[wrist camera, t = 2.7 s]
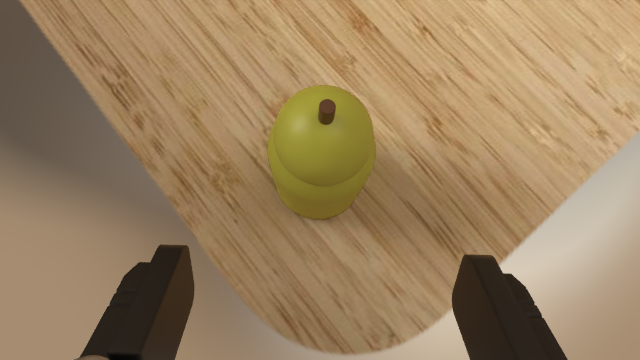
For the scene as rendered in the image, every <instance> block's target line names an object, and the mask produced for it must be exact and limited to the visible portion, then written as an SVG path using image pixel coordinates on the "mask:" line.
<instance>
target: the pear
mask: <svg viewBox="0 0 640 360" xmlns="http://www.w3.org/2000/svg"><path fill="white" fill-rule="evenodd" d="M375 155H376V145H375V138H374V132H373V125H372V121H371V118H370V115H369V113H368V111H367V110H366V108H365V107H364V105H363V104H362V103H361V101H360V100H359V99H358V98H356V97H355V96H354V95H353V94H351V93H350V92H348V91H346V90H344V89H341V88H339V87H335V86H329V85H319V86H312V87H308V88H306V89H303V90H301V91H299V92H297V93H296V94H295V95H293V96H292V97H291V98H290V99H289V100H288V101H287V102H286V103H285V104H284V105H283V107H282V108H281V110H280V111H279V114H278V116H277V118H276V121H275V123H274V125H273V127H272V129H271V132H270V135H269V139H268V160H269V164H270V168H271V171H272V175H273V178H274V182H275V185H276V189H277V192H278V194H279V196H280V198H281V199H282V201H283V202H284V203H285V205H286V206H287V207H288V208H289V209H291V210H292V211H293V212H295V213H297V214H299V215H301V216H303V217H306V218H311V219H325V218H330V217H333V216H336V215H338V214H340V213H341V212H343V211H344V210H346V209H347V208H348V207H349V206H350V205H351V204H352V203H353V201H354V200H355V198H356V197H357V195H358V193H359V192H360V190H361V188H362V187H363V185H364V183H365V182H366V180H367V179H368V177H369V175H370V173H371V171H372V168H373V165H374V161H375Z"/></svg>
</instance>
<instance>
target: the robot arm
mask: <svg viewBox="0 0 640 360" xmlns="http://www.w3.org/2000/svg"><path fill="white" fill-rule="evenodd" d="M193 299H194V280H193V273H192V266H191V259H190V253H189V248H188V246H186V245H160V246H159V247H158V248H157V250H156V252H155V254H154V256H153V258H152V260H151V262H150V263H145V262H140V263H138V264H137V265H136V266H135V267H133V268H132V269H131V270H130V271H129V272H128V273H127V274H126V275H125V276H124V277H123V280H122V281H121V283H120V285H119V287H118V288H117V292H116V293H115V294H114V296H113V298H112V300H111V302H110V306H108V307H107V309H106V311H105V312H104V314H103V316H102V318H101V320H100V322H99V323H98V325H97V327H96V329H95V331H94V333H93V335H92V336H91V338H90V340H89V342H88V344H87V346H86V347H85V349H84V351H83V353H82V354H81V356H80V357H79V358H77V359H75V360H175V357H176V354H177V350H178V347H179V344H180V341H181V338H182V335H183V332H184V329H185V326H186V323H187V320H188V316H189V313H190V310H191V307H192V303H193ZM452 307H453V312H454V315H455V318H456V321H457V323H458V326H459V329H460V332H461V335H462V338H463V341H464V343H465V346H466V349H467V352H468V355H469V357H470V360H567V358H566V356H565V354H564V353H563V351H562V349H561V347H560V346H559V344H558V342H557V340H556V339H555V337H554V335H553V334H552V332H551V330H550V329H549V327H548V325H547V323H546V321H545V320H544V318H542V315H541V313H540V311H539V309H538V308H537V306H536V305H534V301H533V299H532V297H531V296H530V294H529V292H528V290H527V289H526V287H525V286H524V285H523V284H522V283H521V282H519V281H518V280H517V279H516V278H515V277H514V276H513V275H512V274H503V273H502V271H501V269H500V267H499V265H498V263H497V261H496V260H495V258H494V257H493V256H491V255H464V257H463V258H462V261H461V265H460V268H459V272H458V275H457V279H456V282H455V286H454V289H453V293H452Z"/></svg>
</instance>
